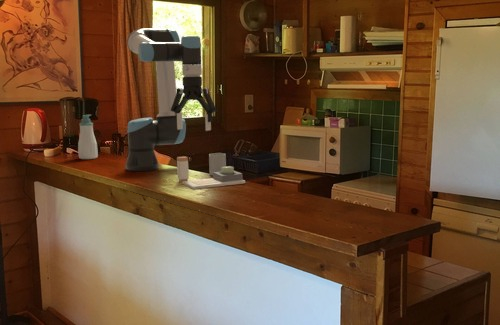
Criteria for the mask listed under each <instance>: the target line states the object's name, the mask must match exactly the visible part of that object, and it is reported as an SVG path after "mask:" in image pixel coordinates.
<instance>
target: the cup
mask: <svg viewBox="0 0 500 325" xmlns="http://www.w3.org/2000/svg"><path fill="white" fill-rule="evenodd" d="M208 164H209V165H208V166H209V172H208V173H209V175H210V176H211V177H213V172H221V167H226V166H227V157H226V153H222V152H215V153H209V154H208Z"/></svg>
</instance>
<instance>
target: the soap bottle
mask: <svg viewBox="0 0 500 325" xmlns="http://www.w3.org/2000/svg"><path fill="white" fill-rule="evenodd" d="M91 116H92V114H84V115H82V118H81V122H80V123H78V125H79V137H78V138H79V139H78V141H77V142H78V143H77V144H78V145H77V152H78V158H79V159H80V160H94V159H95V160H96V159H97V158H98V156H99V154H98V153H99V152H98V143H97V140H96V136H95V133H94V123H93V122H92V121H91V118H90V117H91Z"/></svg>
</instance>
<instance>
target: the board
mask: <svg viewBox="0 0 500 325" xmlns="http://www.w3.org/2000/svg"><path fill="white" fill-rule="evenodd" d="M243 178H244V177H243V173H241V172H239V171H236V170H234V174H227V175H223V174H221V172H213V176H212V177H211V178H202V179H195V180H194V179H193V180H188V181H183V182H182V184H183V185H184V186H186V187H188V188H190V189H192V190H198V189H207V188H216V187H224V186H232V185H233V186H234V185H242V184H246V180H244V179H243Z"/></svg>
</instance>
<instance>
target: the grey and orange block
mask: <svg viewBox="0 0 500 325" xmlns="http://www.w3.org/2000/svg"><path fill="white" fill-rule="evenodd" d="M176 164H177V165H176V167H177V168H176V169H177V170H176V172H177V179H178V182H180V183H183V181H189V179H190V177H189V156H177V157H176Z"/></svg>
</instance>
